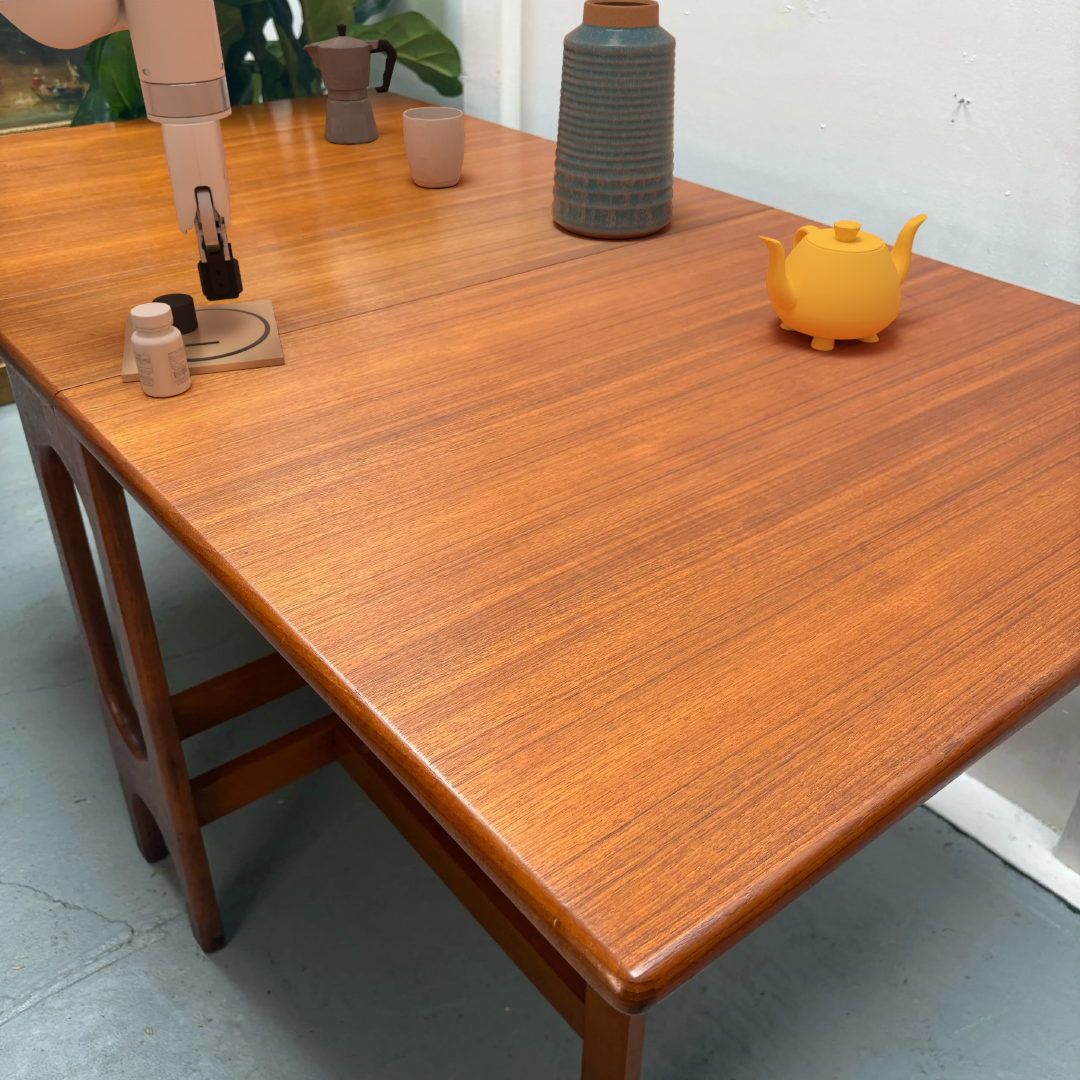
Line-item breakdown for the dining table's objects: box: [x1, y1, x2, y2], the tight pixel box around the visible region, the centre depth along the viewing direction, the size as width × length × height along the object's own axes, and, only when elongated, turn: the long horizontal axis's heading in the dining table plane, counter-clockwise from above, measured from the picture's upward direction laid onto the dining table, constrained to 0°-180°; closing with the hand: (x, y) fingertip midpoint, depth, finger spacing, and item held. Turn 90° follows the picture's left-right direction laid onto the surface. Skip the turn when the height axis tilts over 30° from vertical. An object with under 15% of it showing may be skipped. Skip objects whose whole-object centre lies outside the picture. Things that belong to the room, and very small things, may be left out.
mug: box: [402, 106, 466, 189], centre depth 153 cm, size 13×9×10 cm
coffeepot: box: [303, 23, 398, 145], centre depth 173 cm, size 15×9×18 cm, turn 95°
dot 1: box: [151, 292, 198, 335], centre depth 104 cm, size 4×4×3 cm
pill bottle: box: [129, 302, 192, 398], centre depth 93 cm, size 4×4×8 cm
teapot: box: [758, 213, 928, 352], centre depth 105 cm, size 20×15×12 cm
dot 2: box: [196, 257, 244, 297], centre depth 103 cm, size 4×4×3 cm
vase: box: [550, 0, 677, 240], centre depth 131 cm, size 16×16×27 cm
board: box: [120, 299, 286, 383], centre depth 104 cm, size 15×16×1 cm
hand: (222, 288), depth 104 cm, fingers closed on dot 2, 4 cm apart
